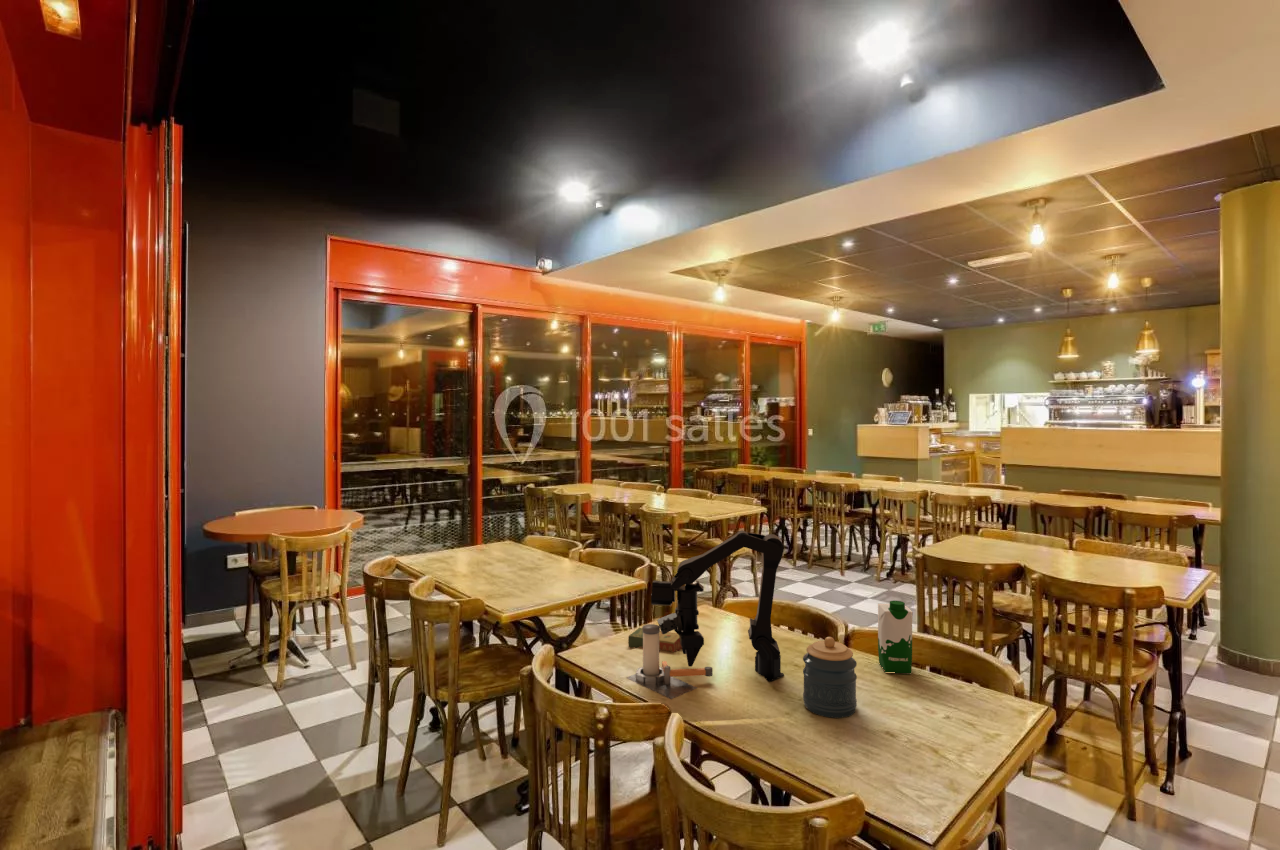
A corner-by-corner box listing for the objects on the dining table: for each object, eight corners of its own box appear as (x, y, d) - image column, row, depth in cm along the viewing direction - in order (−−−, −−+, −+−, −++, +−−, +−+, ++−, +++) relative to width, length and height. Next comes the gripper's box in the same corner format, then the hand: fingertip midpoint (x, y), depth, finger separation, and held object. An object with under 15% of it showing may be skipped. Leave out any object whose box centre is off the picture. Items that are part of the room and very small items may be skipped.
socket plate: (697, 690, 168) (697, 681, 168) (671, 702, 161) (671, 692, 161) (652, 670, 181) (652, 661, 181) (625, 680, 175) (625, 671, 175)
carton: (674, 656, 194) (674, 642, 194) (627, 648, 201) (627, 634, 200) (684, 646, 201) (684, 633, 201) (639, 639, 208) (638, 626, 208)
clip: (707, 671, 179) (707, 656, 179) (713, 682, 171) (713, 666, 171) (661, 673, 177) (661, 658, 177) (665, 685, 170) (665, 668, 170)
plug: (663, 678, 174) (663, 627, 174) (650, 683, 171) (650, 631, 171) (651, 673, 178) (651, 623, 178) (638, 677, 175) (638, 626, 174)
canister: (820, 722, 151) (820, 648, 150) (793, 698, 163) (793, 631, 163) (867, 715, 154) (867, 643, 154) (837, 692, 167) (837, 626, 166)
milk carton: (883, 674, 178) (883, 604, 178) (874, 662, 187) (874, 595, 187) (915, 676, 177) (915, 605, 177) (905, 663, 186) (905, 596, 186)
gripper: (655, 597, 188) (655, 649, 189) (663, 616, 170) (663, 674, 170) (692, 596, 189) (692, 647, 190) (704, 615, 171) (704, 672, 171)
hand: (687, 659), depth 180 cm, fingers open, 9 cm apart
